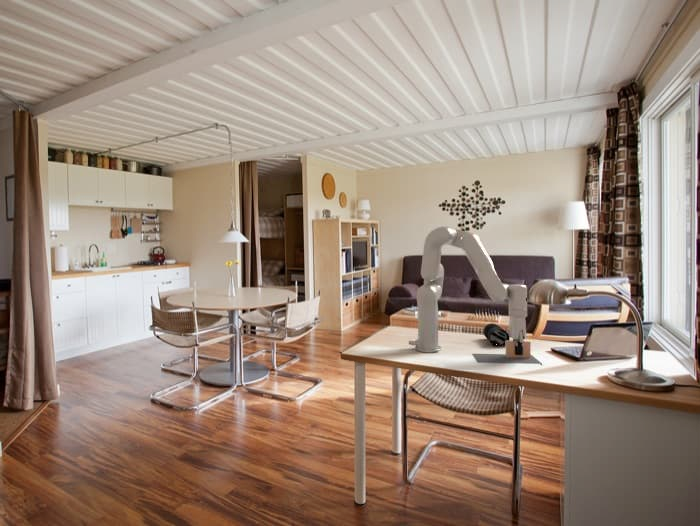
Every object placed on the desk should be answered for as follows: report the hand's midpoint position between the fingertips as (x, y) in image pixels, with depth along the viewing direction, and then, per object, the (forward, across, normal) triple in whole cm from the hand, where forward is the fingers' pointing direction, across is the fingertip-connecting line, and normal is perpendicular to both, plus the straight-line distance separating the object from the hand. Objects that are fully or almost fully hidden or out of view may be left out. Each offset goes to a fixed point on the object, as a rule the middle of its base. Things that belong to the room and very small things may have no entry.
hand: (517, 353), depth 180 cm
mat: (+2, +3, -6) cm, 7 cm away
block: (+1, 0, 0) cm, 1 cm away
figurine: (+2, -27, -3) cm, 27 cm away
